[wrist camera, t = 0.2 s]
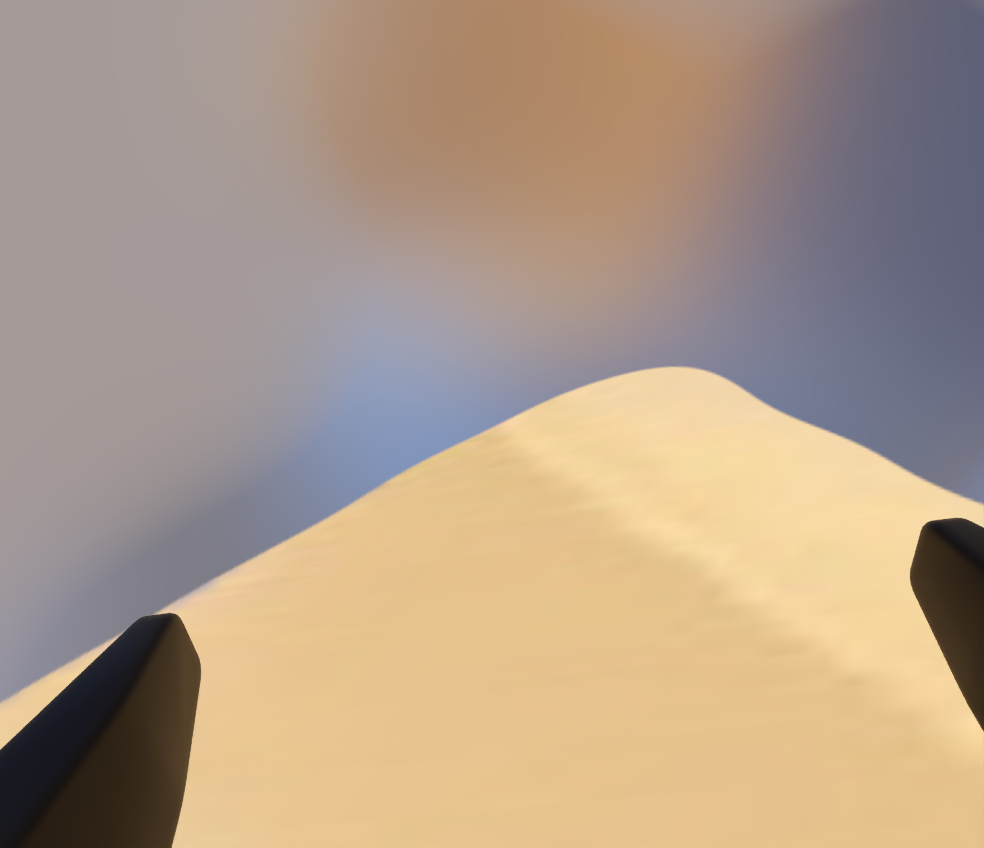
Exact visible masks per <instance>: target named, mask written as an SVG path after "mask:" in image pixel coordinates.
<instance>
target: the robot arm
mask: <svg viewBox="0 0 984 848" xmlns="http://www.w3.org/2000/svg"><path fill="white" fill-rule="evenodd" d="M910 581H911V586H912V589H913V592H914V594H915V596H916V598H917V600H918V602H919V604H920V607H921V609H922V611H923V613H924V615H925V617H926V619H927V621H928V623H929V625H930V628H931V630H932V632H933V634H934V636H935V638H936V640H937V642H938V644H939V646H940V649H941V651H942V653H943V655H944V657H945V659H946V661H947V663H948V665H949V667H950V669H951V672H952V674H953V676H954V678H955V680H956V682H957V684H958V686H959V688H960V690H961V692H962V694H963V696H964V698H965V700H966V702H967V704H968V706H969V707H970V709H971V711H972V712H973V714H974V716H975V718H976V719H977V721H978V723H979V724H980V726H981V728H982V729H983V731H984V528H983V527H981V526H979V525H977V524H975V523H973V522H971V521H969V520H966V519H963V518H951V519H942V520H934V521H930V522H927V523H926V524H925V525H924V526H923V527H922V530H921V533H920V536H919V540H918V544H917V547H916V551H915V555H914V558H913V562H912V566H911V570H910ZM200 680H201V664H200V660H199V657H198V654H197V652H196V650H195V648H194V646H193V643H192V641H191V639H190V637H189V635H188V633H187V630H186V628H185V626H184V624H183V622H182V620H181V619H180V617H179V616H178V615H176V614H172V613H167V614H159V615H151V616H145V617H142V618H140V619H138V620H137V621H136V622H135V623H133V624H132V625H131V626H130V627H129V628H128V629H127V630H126V631H125V632H124V633H123V634H122V635H121V636H120V637H119V638H118V639H116V640H115V641H114V642H113V643H112V644H111V645H110V646H109V647H108V648H107V649H106V650H105V651H104V652H103V653H102V654H101V655H100V656H99V657H98V658H96V659H95V660H94V661H93V662H92V663H91V664H90V665H89V666H88V667H87V668H86V669H85V670H84V671H83V672H82V673H81V674H80V675H79V676H78V677H77V678H75V679H74V680H73V681H72V682H71V683H70V684H69V685H68V686H67V687H66V688H65V689H64V690H63V691H62V692H61V693H60V694H59V695H58V696H57V697H55V698H54V699H53V700H52V701H51V702H50V703H49V704H48V705H47V706H46V707H45V708H44V709H43V710H42V711H41V712H40V713H39V714H38V715H37V716H36V717H34V718H33V719H32V720H31V721H30V722H29V723H28V724H27V725H26V726H25V727H24V728H23V729H22V730H21V731H20V732H19V733H18V734H17V735H16V736H14V737H13V738H12V739H11V740H10V741H9V742H8V743H7V744H6V745H5V746H4V747H3V748H2V749H1V750H0V848H172V844H173V840H174V836H175V832H176V828H177V824H178V820H179V815H180V811H181V807H182V802H183V797H184V791H185V785H186V779H187V772H188V765H189V758H190V751H191V744H192V737H193V730H194V723H195V715H196V708H197V701H198V694H199V687H200Z"/></svg>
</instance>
